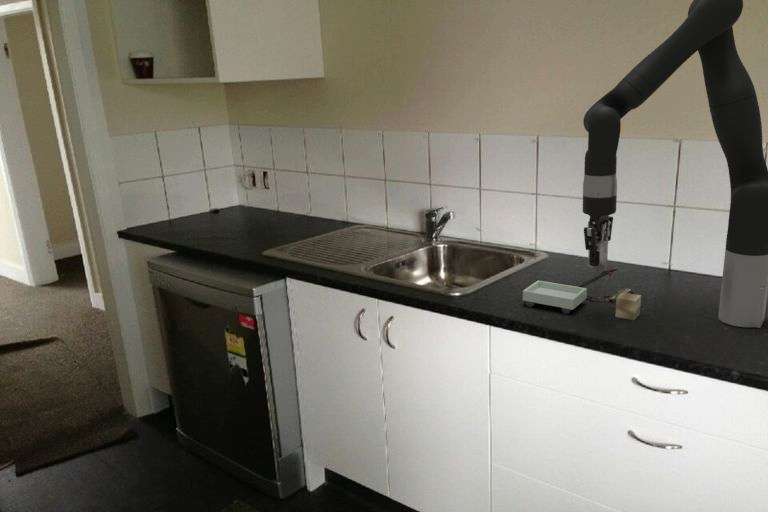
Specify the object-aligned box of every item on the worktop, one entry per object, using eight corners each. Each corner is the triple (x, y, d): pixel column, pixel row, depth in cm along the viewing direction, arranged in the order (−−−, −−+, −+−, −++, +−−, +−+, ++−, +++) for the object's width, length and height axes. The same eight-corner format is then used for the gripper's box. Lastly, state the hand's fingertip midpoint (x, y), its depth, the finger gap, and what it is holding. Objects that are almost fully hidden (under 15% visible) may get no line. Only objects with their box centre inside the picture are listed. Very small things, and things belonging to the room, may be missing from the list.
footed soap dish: (586, 303, 166) (587, 288, 165) (572, 315, 159) (573, 299, 158) (537, 294, 174) (538, 280, 173) (522, 306, 167) (522, 290, 166)
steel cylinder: (609, 263, 155) (610, 240, 154) (603, 269, 152) (604, 244, 150) (591, 261, 158) (592, 238, 156) (585, 266, 155) (585, 242, 153)
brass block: (639, 314, 158) (641, 295, 157) (634, 320, 155) (635, 301, 153) (621, 311, 161) (622, 292, 159) (615, 317, 157) (616, 297, 156)
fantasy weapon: (560, 297, 175) (612, 307, 164) (560, 291, 174) (613, 301, 163) (612, 270, 193) (662, 278, 183) (612, 264, 193) (662, 271, 182)
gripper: (605, 200, 143) (603, 273, 147) (625, 188, 153) (622, 256, 158) (572, 198, 147) (571, 269, 152) (594, 186, 158) (592, 253, 163)
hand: (597, 262), depth 155 cm, fingers closed on steel cylinder, 4 cm apart
